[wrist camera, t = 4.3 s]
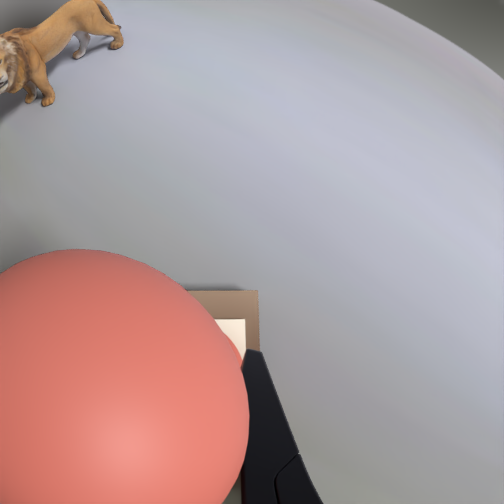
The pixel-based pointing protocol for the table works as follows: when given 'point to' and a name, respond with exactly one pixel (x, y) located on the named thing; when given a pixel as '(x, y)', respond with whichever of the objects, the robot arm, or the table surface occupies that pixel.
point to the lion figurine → (51, 46)
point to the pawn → (114, 386)
